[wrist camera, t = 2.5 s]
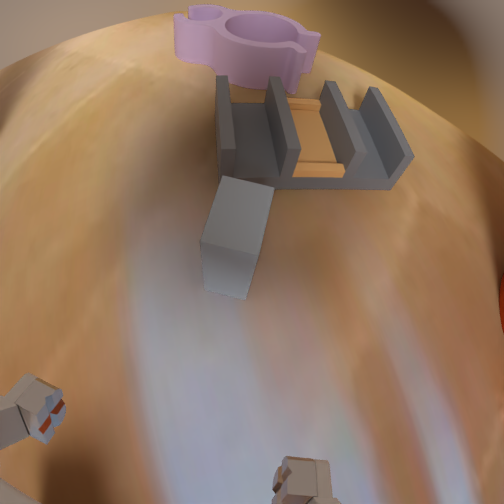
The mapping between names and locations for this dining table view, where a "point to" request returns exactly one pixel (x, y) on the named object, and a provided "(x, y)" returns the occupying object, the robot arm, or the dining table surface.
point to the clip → (246, 45)
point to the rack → (309, 140)
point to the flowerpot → (502, 302)
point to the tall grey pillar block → (234, 236)
